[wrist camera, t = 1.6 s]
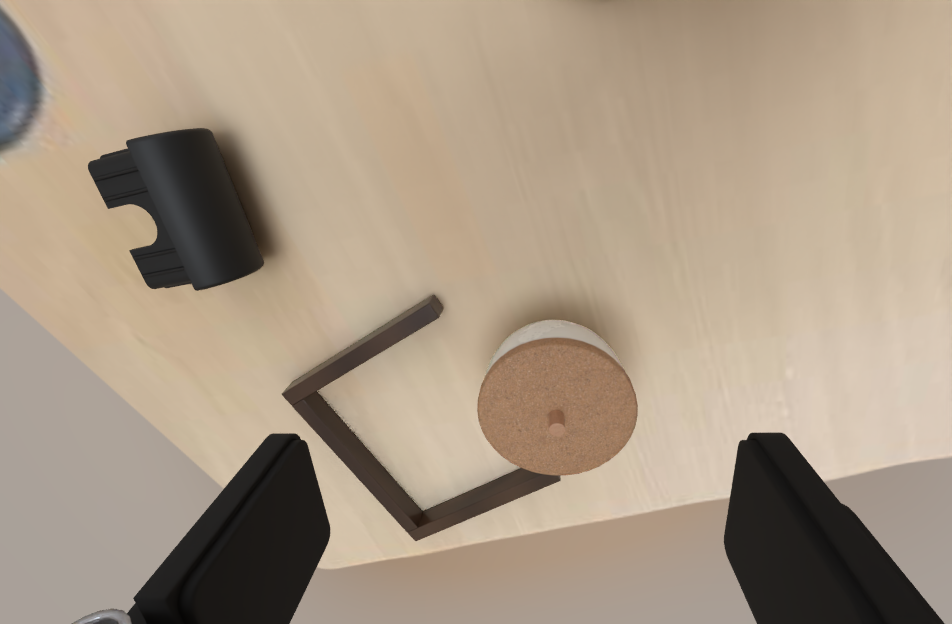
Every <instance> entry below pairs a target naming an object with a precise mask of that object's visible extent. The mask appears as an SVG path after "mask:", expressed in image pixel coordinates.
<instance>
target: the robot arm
mask: <svg viewBox="0 0 952 624" xmlns="http://www.w3.org/2000/svg"><path fill="white" fill-rule="evenodd" d="M329 538H330V525H329V521H328V517H327V514H326V510H325V507H324V503H323V499H322V496H321V492H320V488H319V485H318V481H317V478H316V474H315V470H314V467H313V463H312V460H311V456H310V452H309V449H308V445H307V443H306V442H305V441H304V440H301V439H300V437H299V436H298V435H297V434H270V435H269V436H268V437H267V438H266V439H265V440H264V441H263V443H262V444H261V445H260V446H259V447H258V449H257V450H256V451H255V452H254V453H253V455H252V456H251V457H250V458H249V459H248V461H247V462H246V463H245V464H244V465H243V467H242V468H241V469H240V470H239V471H238V473H237V474H236V475H235V476H234V477H233V479H232V480H231V481H230V482H229V483H228V485H227V486H226V487H225V488H224V490H223V491H222V492H221V493H220V494H219V496H218V497H217V498H216V499H215V500H214V502H213V503H212V504H211V505H210V506H209V508H208V509H207V510H206V511H205V512H204V514H203V515H202V516H201V517H200V519H199V520H198V521H197V522H196V523H195V525H194V526H193V527H192V528H191V529H190V531H189V532H188V533H187V534H186V536H185V537H184V538H183V539H182V540H181V541H180V543H179V544H178V545H177V546H176V547H175V549H174V550H173V551H172V552H171V553H170V555H169V556H168V557H167V558H166V559H165V561H164V562H163V563H162V564H161V565H160V567H159V568H158V569H157V570H156V571H155V573H154V574H153V575H152V576H151V578H150V579H149V580H148V581H147V582H146V584H145V585H144V586H143V587H142V588H141V590H140V591H139V592H138V593H137V594H136V596H135V597H134V601H135V602H136V603H135V604H134V606H133V607H132V608H131V609H130V611H129V612H128V613H127V614H126V613H125V612H124V611H123V610H117V609H108V610H102V611H97V612H95V613H92V614H90V615H87V616H85V617H82V618H81V619H79V620H77V621H76V622H74V623H72V624H289V623H290V621H291V619H292V617H293V615H294V613H295V611H296V609H297V607H298V604H299V603H300V601H301V598H302V596H303V594H304V592H305V590H306V588H307V586H308V584H309V582H310V579H311V577H312V575H313V573H314V571H315V569H316V567H317V565H318V563H319V561H320V559H321V557H322V555H323V553H324V551H325V548H326V546H327V544H328V542H329ZM724 545H725V550H726V554H727V557H728V559H729V561H730V564H731V566H732V568H733V570H734V573H735V575H736V577H737V579H738V582H739V584H740V586H741V589H742V591H743V593H744V595H745V598H746V600H747V602H748V604H749V607H750V609H751V611H752V613H753V616H754V618H755V620H756V622H757V624H944V623H943V621H942V620H941V619H940V618H939V616H938V615H937V614H936V612H935V611H934V610H933V609H932V608H931V606H930V605H929V604H928V603H927V601H926V600H925V599H924V598H923V597H922V595H921V594H920V593H919V592H918V590H917V589H916V588H915V587H914V585H913V584H912V583H911V582H910V581H909V579H908V578H907V577H906V576H905V574H904V573H903V572H902V571H901V570H900V568H899V567H898V566H897V565H896V563H895V562H894V561H893V560H892V558H891V557H890V556H889V555H888V554H887V552H886V551H885V550H884V549H883V547H882V546H881V545H880V544H879V542H878V541H877V540H876V539H875V538H874V536H873V535H872V534H871V533H870V531H869V530H868V529H867V528H866V527H865V525H864V524H863V523H862V522H861V520H860V519H859V518H858V517H857V515H856V514H855V513H854V512H853V511H852V510H851V509H850V508H849V507H847V506H845V505H843V504H841V503H840V502H839V500H838V499H837V498H836V497H835V495H834V494H833V493H832V492H831V490H830V489H829V488H828V487H827V485H826V484H825V483H824V482H823V480H822V479H821V478H820V477H819V475H818V474H817V473H816V472H815V470H814V469H813V468H812V467H811V465H810V464H809V463H808V462H807V460H806V459H805V458H804V457H803V455H802V454H801V453H800V452H799V450H798V449H797V448H796V447H795V445H794V444H793V443H792V442H791V440H790V439H789V438H788V437H787V436H786V435H785V434H783V433H751V434H749V436H748V438H747V440H741V441H740V442H739V445H738V451H737V457H736V464H735V470H734V476H733V483H732V489H731V496H730V502H729V509H728V515H727V521H726V528H725V535H724Z"/></svg>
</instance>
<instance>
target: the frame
mask: <svg viewBox="0 0 952 624" xmlns="http://www.w3.org/2000/svg"><path fill="white" fill-rule="evenodd" d="M442 310H443V306H442V305H441V303H440V302H439V301H438V299H437V298H436V296H435V295H432V296H430V297H429V298H427V299H426V300H424V301H422V302H421V303H419V304H417V305H416V306H414V307H413V308H411V309H409V310H408V311H406V312H405V313H403V314H401V315H400V316H398V317H397V318H395V319H393V320H392V321H390V322H388V323H387V324H385V325H384V326H382V327H380V328H379V329H377V330H376V331H374V332H372V333H371V334H369V335H367V336H366V337H364V338H363V339H361V340H359V341H358V342H356V343H355V344H353V345H351V346H350V347H348V348H347V349H345V350H343V351H342V352H340V353H338V354H337V355H335V356H334V357H332V358H330V359H329V360H327V361H326V362H324V363H322V364H321V365H319V366H318V367H316V368H314V369H313V370H311V371H309V372H308V373H306V374H305V375H303V376H301V377H300V378H298V379H297V380H295V381H293V382H292V383H291V384H290V385H289V386H288V387H287V388H286V390H285V391H284V392H283V393H282V395H283V397H284V398H285V399H286V400H287V401H288V402H289V403H290V404H291V405H292V407H293V408H294V409H295V410H296V411H297V412H298V413H299V414H300V415H301V416H302V418H303V419H304V420H305V421H306V422H307V423H308V424H309V425H310V426H311V427H312V428H313V430H314V431H315V432H316V433H317V434H318V435H319V436H320V437H321V438H322V439H323V441H324V442H325V443H326V444H327V445H328V446H329V447H330V448H331V449H332V450H333V451H334V453H335V454H336V455H337V456H338V457H339V458H340V459H341V460H342V461H343V462H344V464H345V465H346V466H347V467H348V468H349V469H350V470H351V471H352V472H353V473H354V475H355V476H356V477H357V478H358V479H359V480H360V481H361V482H362V483H363V484H364V485H365V487H366V488H367V489H368V490H369V491H370V492H371V493H372V494H373V495H374V496H375V498H376V499H377V500H378V501H379V502H380V503H381V504H382V505H383V506H384V507H385V508H386V510H387V511H388V512H389V513H390V514H391V515H392V516H393V517H394V518H395V519H396V521H397V522H398V523H399V524H400V525H401V526H402V527H403V528H404V529H405V530H406V532H408V534H409V535H410V536H411V537H412V538H413V539H414V540H415V541H418V540H420V539H422V538H425V537H427V536H430V535H432V534H434V533H437V532H439V531H441V530H444V529H446V528H449V527H451V526H453V525H456V524H458V523H461V522H463V521H465V520H468V519H470V518H473V517H475V516H477V515H480V514H482V513H484V512H487V511H489V510H492V509H494V508H496V507H499V506H501V505H504V504H506V503H508V502H511V501H513V500H515V499H518V498H520V497H523V496H525V495H527V494H530V493H532V492H535V491H537V490H539V489H542V488H544V487H547V486H549V485H551V484H554V483H556V482H558V481H560V475H546V474H540V473H535V472H531V471H529V470H526V469H523V468H521V469H519V470H517V471H514V472H512V473H510V474H508V475H505V476H503V477H501V478H498V479H496V480H494V481H492V482H489V483H487V484H485V485H483V486H480V487H478V488H476V489H474V490H471V491H469V492H467V493H464V494H462V495H460V496H458V497H455V498H453V499H451V500H449V501H446V502H444V503H442V504H440V505H437V506H435V507H433V508H430V509H428V510H426V511H424V512H422V511H421V510H420V508H419V507H418V506H417V505H416V504H415V503H414V502H413V501H412V499H411V498H410V497H409V496H408V495H407V494H406V493H405V491H404V490H403V489H402V488H401V487H400V486H399V485H398V484H397V482H396V481H395V480H394V479H393V478H392V477H391V476H390V474H389V473H388V472H387V471H386V470H385V469H384V468H383V467H382V465H381V464H380V463H379V462H378V461H377V460H376V459H375V457H374V456H373V455H372V454H371V453H370V452H369V451H368V450H367V448H366V447H365V446H364V445H363V444H362V443H361V442H360V441H359V439H358V438H357V437H356V436H355V435H354V434H353V433H352V431H351V430H350V429H349V428H348V427H347V426H346V425H345V424H344V422H343V421H342V420H341V419H340V418H339V417H338V416H337V414H336V413H335V412H334V411H333V410H332V409H331V408H330V407H329V405H328V404H327V403H326V402H325V401H324V400H323V399H322V397H321V396H320V395H319V394H318V393H317V392H316V391H317V390H319V389H320V388H322V387H324V386H325V385H327V384H329V383H330V382H332V381H334V380H335V379H337V378H339V377H340V376H342V375H344V374H345V373H347V372H349V371H350V370H352V369H354V368H356V367H357V366H359V365H361V364H362V363H364V362H366V361H367V360H369V359H371V358H372V357H374V356H376V355H377V354H379V353H381V352H382V351H384V350H386V349H387V348H389V347H391V346H392V345H394V344H396V343H397V342H399V341H401V340H402V339H404V338H406V337H407V336H409V335H411V334H412V333H414V332H416V331H417V330H419V329H421V328H422V327H424V326H426V325H427V324H429V323H431V322H432V321H434V320H436V319H437V318H439V317H440V315H441V312H442Z"/></svg>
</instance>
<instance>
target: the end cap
mask: <svg viewBox="0 0 952 624" xmlns="http://www.w3.org/2000/svg"><path fill="white" fill-rule="evenodd" d="M126 144H127V147H128V149H124V150H120V151H117V152H113V153H109V154H105V155H102V156H101V157H100V159H97V160H94V161H90V162H89V164H88V169H89V172H90V174H91V176H92V178H93V180H94V182H95V184H96V186H97V188H98V190H99V192H100V194H101V196H102V198H103V200H104V202H105V204H106V206H107V208H108V209H110V208H114V207H118V206H122V205H127V204H134V205H137V206H140V207H142V208H143V209H145V210H146V211H147V212H148V213H149V214H150V215H151V216H152V218H153V219H154V221H155V223H156V226H157V239H156V241H155V242H154V243H153V244H152V245H150V246H145V247H140V248H136V249H132V250H129V251H130V253H131V255H132V257H133V259H134V261H135V263H136V265H137V267H138V269H139V271H140V272H141V274H142V276H143V278H144V280H145V282H146V284H147V285H148V286H149V287H150V288H152V289H157V288H163V287H165V288H170V287H175V286H181V285H186V284H191V283H192V285H193V287H194V289H195V290H197V291H198V290H203V289H207V288H211V287H215V286H218V285H222V284H225V283H228V282H231V281H234V280H237V279H239V278H242V277H244V276H247V275H249V274H251V273H253V272H255V271H257V270H259V269H260V268H261V267H262V266H263V264H264V260H263V258H262V255H261V253H260V250H259V248H258V246H257V243H256V241H255V238H254V236H253V233H252V231H251V228H250V226H249V223H248V221H247V218H246V216H245V213H244V211H243V208H242V206H241V203H240V201H239V198H238V196H237V193H236V191H235V188H234V186H233V183H232V181H231V178H230V176H229V173H228V171H227V168H226V166H225V163H224V161H223V158H222V156H221V153H220V151H219V148H218V146H217V143H216V141H215V138H214V136H213V133H212V132H211V131H210V130H208V129H204V128H197V129H185V130H177V131H171V132H164V133H159V134H153V135H148V136H143V137H139V138H135V139H131V140H127V142H126Z"/></svg>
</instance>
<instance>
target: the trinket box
mask: <svg viewBox="0 0 952 624" xmlns="http://www.w3.org/2000/svg"><path fill="white" fill-rule="evenodd" d="M637 407H638V405H637V400H636V394H635V391H634V389H633V386H632V384H631V381H630V379H629V377H628V376H627V374H626V372H625V370H624V368H623V366H622V363H621V362H620V360H619V359H618V357H617V355H616V354H615V352H614V351H613V350H612V348H611V347H610V346H609V345H608V344H607V343H606V342H605V341H604V340H603V339H602V338H601V337H600V336H598V335H597V334H596V333H595V332H593V331H591V330H590V329H588V328H586V327H584V326H581V325H579V324H576V323H573V322H569V321H564V320H543V321H538V322H534V323H531V324H529V325H526V326H524V327H522V328H520V329H519V330H517V331H515V332H514V333H512V334H511V335H510V336H509V337H507V338H506V339H505V340H504V342H503V343H502V344H501V345H500V346H499V348H498V349H497V350H496V352H495V353H494V355H493V357H492V359H491V361H490V363H489V365H488V368H487V370H486V373H485V377H484V380H483V383H482V385H481V389H480V393H479V397H478V410H477V411H478V418H479V423H480V426H481V429H482V431H483V433H484V435H485V437H486V439H487V440H488V442H489V443H490V444H491V445H492V447H493V448H494V449H495V450H496V451H497V452H498V453H499V454H500V455H501V456H503V457H504V458H505V459H507V460H508V461H510V462H511V463H513V464H515V465H517V466H519V467H521V468H523V469H526V470H529V471H531V472H535V473H540V474H546V475H571V474H578V473H582V472H585V471H589V470H591V469H594V468H596V467H599V466H600V465H602V464H604V463H605V462H607V461H609V460H610V459H611V458H613V457H614V456H615V455H616V454H618V452H619V451H620V450H621V449H622V448H623V447H624V446H625V445H626V443H627V442H628V440H629V438H630V437H631V435H632V433H633V430H634V428H635V425H636V420H637Z"/></svg>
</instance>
